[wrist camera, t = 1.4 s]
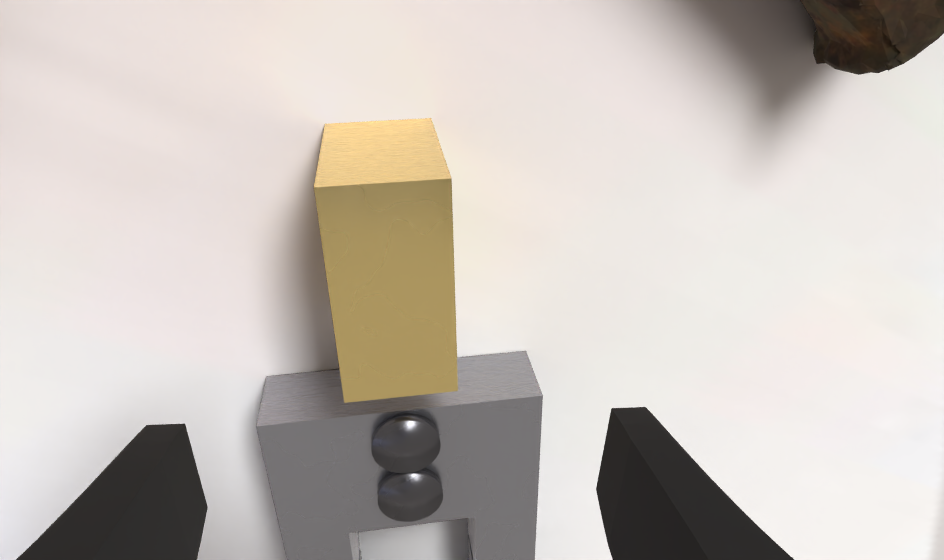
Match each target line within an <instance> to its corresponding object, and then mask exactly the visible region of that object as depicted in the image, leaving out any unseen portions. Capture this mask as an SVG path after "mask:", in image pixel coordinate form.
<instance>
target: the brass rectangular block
mask: <svg viewBox="0 0 944 560" xmlns="http://www.w3.org/2000/svg"><path fill="white" fill-rule="evenodd" d="M314 192H315V199H316V206H317V213H318V220H319V227H320V235H321V242H322V249H323V256H324V263H325V270H326V277H327V284H328V291H329V298H330V305H331V312H332V319H333V326H334V333H335V340H336V347H337V355H338V362H339V369H340V376H341V383H342V390H343V397H344V403H348V402H358V401H367V400H377V399H386V398H396V397H406V396H415V395H425V394H434V393H444V392H453V391H458V375H457V343H456V311H455V278H454V246H453V214H452V182H451V176H450V173H449V170H448V167H447V164H446V161H445V158H444V155H443V152H442V149H441V146H440V143H439V140H438V137H437V134H436V131H435V128H434V125H433V122H432V119H431V118H425V119H407V120H388V121H369V122H351V123H332V124H325V127H324V132H323V138H322V144H321V149H320V155H319V161H318V167H317V172H316V178H315V184H314Z"/></svg>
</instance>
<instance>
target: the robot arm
mask: <svg viewBox="0 0 944 560" xmlns="http://www.w3.org/2000/svg"><path fill="white" fill-rule="evenodd" d="M596 491H597V495H598V500H599V505H600V510H601V515H602V520H603V524H604V529H605V533H606V537H607V542H608V546H609V549H610V552H611V555H612V558H613V560H794V559H793V558H792V557H791V556H789V555H788V554H787V553H786V552H785V551H784V550H783V549H782V548H781V547H780V546H779V545H778V544H776V543H775V542H774V541H773V540H772V539H771V538H770V537H769V536H768V535H767V534H766V533H765V532H764V531H763V530H762V529H760V528H759V527H758V526H757V525H756V524H755V523H754V522H753V521H752V520H751V519H750V518H749V517H748V516H747V515H746V514H745V513H744V512H743V511H742V510H741V509H740V508H739V507H738V506H737V505H736V504H735V503H734V502H733V501H732V500H731V499H730V498H729V497H728V496H727V495H726V494H725V493H724V492H723V490H722V489H721V488H720V487H719V486H718V485H717V484H716V483H715V482H714V481H713V480H712V479H711V478H710V477H709V476H708V475H707V474H706V473H705V472H704V471H703V470H702V468H701V467H700V466H699V465H698V464H697V463H696V462H695V461H694V460H693V459H692V458H691V457H690V455H689V454H688V453H687V452H686V451H685V450H684V449H683V448H682V447H681V446H680V444H679V443H678V442H677V441H676V440H675V439H674V438H673V437H672V436H671V434H670V433H669V432H668V431H667V430H666V429H665V428H664V427H663V425H662V424H661V423H660V422H659V421H658V420H657V419H656V418H655V417H654V416H653V414H652V413H651V412H650V411H649V410H648V409H647V408H646V407H637V408H612V409H611V414H610V419H609V424H608V430H607V435H606V440H605V445H604V451H603V456H602V461H601V466H600V472H599V477H598V482H597V487H596ZM206 512H207V504H206V500H205V496H204V493H203V489H202V485H201V481H200V478H199V474H198V470H197V467H196V463H195V459H194V456H193V452H192V448H191V444H190V441H189V437H188V433H187V430H186V426H185V424H166V425H146V426H145V427H144V428H143V429H142V430H141V431H140V432H139V433H138V434H137V435H136V437H135V438H134V439H133V440H132V441H131V442H130V443H129V444H128V445H127V446H126V447H125V448H124V449H123V450H122V451H121V452H120V453H119V455H118V456H117V457H116V458H115V459H114V460H113V461H112V462H111V463H110V464H109V465H108V466H107V467H106V469H105V470H104V471H103V472H102V473H101V474H100V475H99V476H98V477H97V478H96V479H95V480H94V481H93V482H92V483H91V485H90V486H89V487H88V488H87V489H86V490H85V491H84V492H83V493H82V494H81V495H80V496H79V497H78V498H77V499H76V500H75V501H74V502H73V503H72V504H71V505H70V506H69V507H68V508H67V509H66V511H65V512H64V513H63V514H62V515H61V516H60V517H59V518H58V519H57V520H56V521H55V522H54V523H53V524H52V525H51V526H50V527H49V528H48V529H47V530H46V531H45V532H44V533H43V534H42V535H41V536H40V537H39V538H38V539H37V540H36V541H35V542H34V543H33V544H32V545H31V546H30V547H29V548H28V549H27V550H26V551H25V552H24V553H23V554H22V555H20V556H19V557H18V558H17V559H16V560H197V556H198V551H199V547H200V542H201V538H202V533H203V527H204V522H205V517H206Z"/></svg>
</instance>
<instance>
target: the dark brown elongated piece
mask: <svg viewBox="0 0 944 560" xmlns="http://www.w3.org/2000/svg"><path fill="white" fill-rule="evenodd" d="M800 1H801V2H802V4H803V5H804V7H805V9H806V10H807V12H808V13H809V15H810V16H811V18H812V19H813V21H814V22H815V25H816V29H817V30H816V31H815V33H814V49H813V54H814V57H815V60H816V63H817V64H820V63H827V64H828V65H830V66H832V67H833V68H835V69H838V70H842V71H846V72H850V73H854V74H858V75H859V74H864V73H870V72H872V73H880V72H882V71H885V70H888V71H889V70H890V69H892V68H895V67H897V66H899V65H902V64H904V63H905V62H907V61H909V60H910V59H912V58H913V57H915V56H916V55H917V54H919V53H920V52H921V51H922V50H924V49H925V48H926V47H928V46H929V45H930V44H932V43H933V42H934V41H936V40H937V39H938V38H939V37H940V36H941V35H942V34H944V0H800Z"/></svg>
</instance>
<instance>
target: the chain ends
mask: <svg viewBox="0 0 944 560" xmlns="http://www.w3.org/2000/svg"><path fill="white" fill-rule="evenodd" d="M457 375H458V391H453V392H444V393H434V394H425V395H415V396H406V397H396V398H386V399H377V400H367V401H358V402H348V403H344V397H343V390H342V383H341V376H340V369H337V370H327V371H317V372H307V373H297V374H286V375H276V376H267V377H266V382H265V386H264V391H263V396H262V401H261V406H260V410H259V415H258V420H257V425H256V428H257V432H258V436H259V441H260V445H261V449H262V454H263V458H264V462H265V466H266V471H267V475H268V479H269V484H270V488H271V492H272V496H273V501H274V505H275V509H276V514H277V518H278V522H279V526H280V531H281V535H282V539H283V544H284V548H285V552H286V557H287V560H362V558H361V551H360V550H359V537H358V532H362V531H370V530H378V529H386V528H393V527H401V526H409V525H417V524H425V523H432V522H440V521H448V520H456V519H464V518H468V531H469V535H468V554H469V560H535V541H536V521H537V500H538V480H539V460H540V440H541V419H542V399H543V395H542V393H541V390H540V387H539V385H538V382H537V379H536V376H535V374H534V371H533V368H532V366H531V363H530V360H529V358H528V355H527V352H526V351H520V352H510V353H500V354H490V355H480V356H469V357H459V358H457Z"/></svg>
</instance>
